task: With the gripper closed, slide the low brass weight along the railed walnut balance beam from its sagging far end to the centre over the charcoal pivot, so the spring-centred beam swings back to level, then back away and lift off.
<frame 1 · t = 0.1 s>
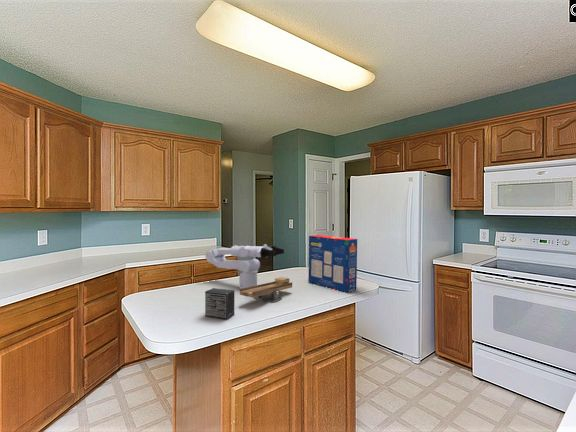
hand: (279, 252, 154), 22 cm above the countertop, tool horizontal, fingers open, 7 cm apart
small box: (220, 316, 124), on the countertop
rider: (282, 284, 157), point 5 cm above the countertop, touching beam
beam: (267, 288, 147), point 5 cm above the countertop, hinge at -4.2°, touching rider
fulcrum: (267, 298, 147), on the countertop
blue game box: (331, 286, 171), on the countertop
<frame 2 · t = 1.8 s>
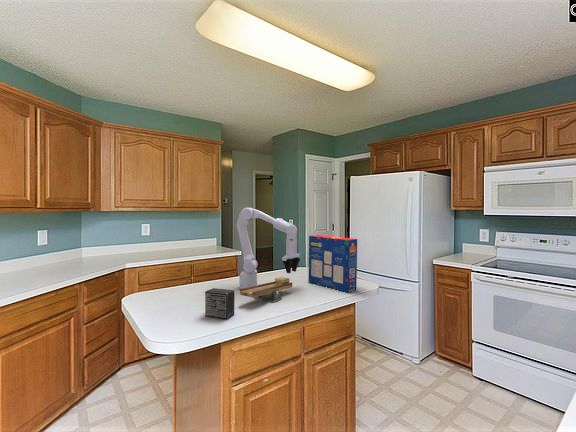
hand: (291, 272, 163), 9 cm above the countertop, tool pointing down, fingers open, 5 cm apart
nothing on the countertop moved.
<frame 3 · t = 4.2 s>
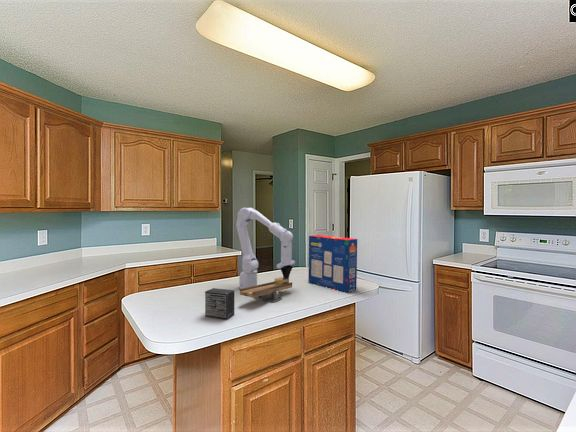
hand: (286, 279, 160), 6 cm above the countertop, tool pointing down, fingers closed
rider: (281, 284, 156), point 5 cm above the countertop, touching beam, gripper
everything else where it was.
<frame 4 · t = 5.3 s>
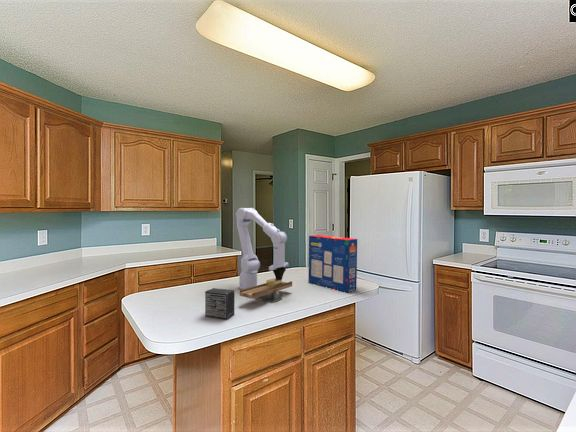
hand: (278, 282, 154), 6 cm above the countertop, tool pointing down, fingers closed
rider: (273, 285, 151), point 5 cm above the countertop, touching gripper
beam: (267, 288, 147), point 5 cm above the countertop, hinge at -2.2°
everything else where it was.
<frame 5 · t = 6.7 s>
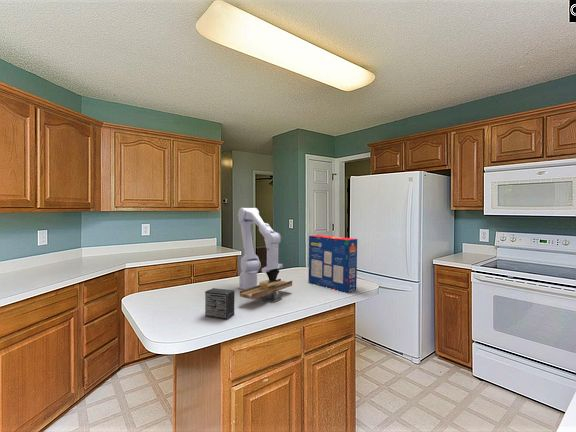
hand: (272, 284, 150), 6 cm above the countertop, tool pointing down, fingers closed
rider: (267, 287, 146), point 6 cm above the countertop, touching beam, gripper
beam: (267, 288, 147), point 5 cm above the countertop, hinge at -0.9°, touching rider
everything else where it was.
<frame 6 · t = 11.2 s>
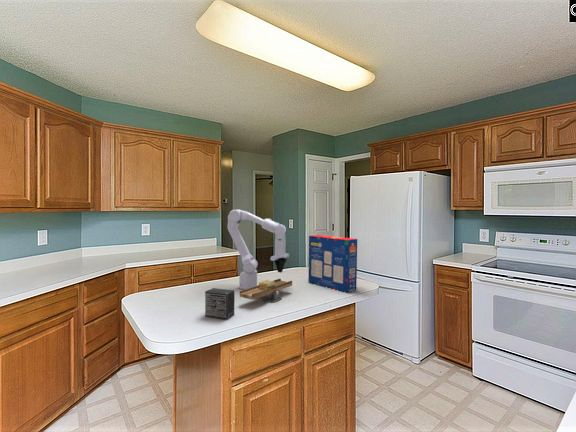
hand: (280, 272, 163), 9 cm above the countertop, tool pointing down, fingers closed
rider: (266, 288, 146), point 6 cm above the countertop, touching beam
everything else where it was.
at the end: beam at -1° (first picture: -4°); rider 1.0 cm from the target spot, point 5.5 cm above the countertop; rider touching beam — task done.
